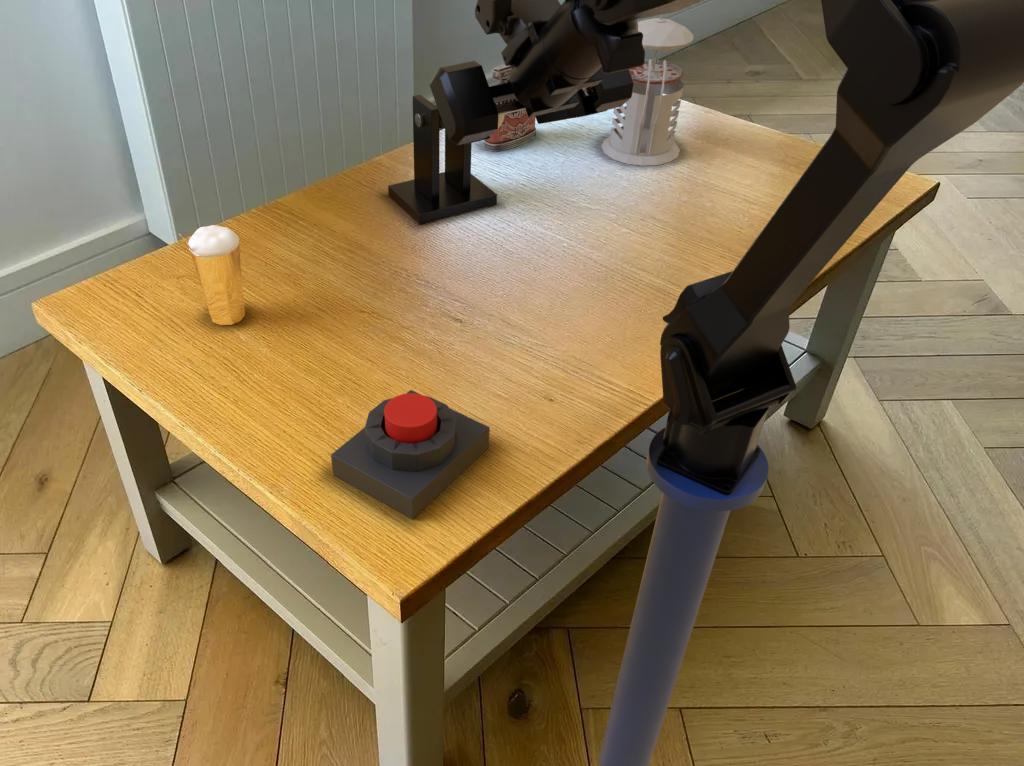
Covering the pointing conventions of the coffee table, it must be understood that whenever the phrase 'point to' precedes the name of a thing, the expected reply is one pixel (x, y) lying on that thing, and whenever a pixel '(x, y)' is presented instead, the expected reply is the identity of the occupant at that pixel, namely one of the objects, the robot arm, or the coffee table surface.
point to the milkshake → (219, 272)
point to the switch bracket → (438, 174)
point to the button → (410, 418)
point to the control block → (409, 459)
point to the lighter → (510, 121)
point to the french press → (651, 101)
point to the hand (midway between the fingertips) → (498, 128)
